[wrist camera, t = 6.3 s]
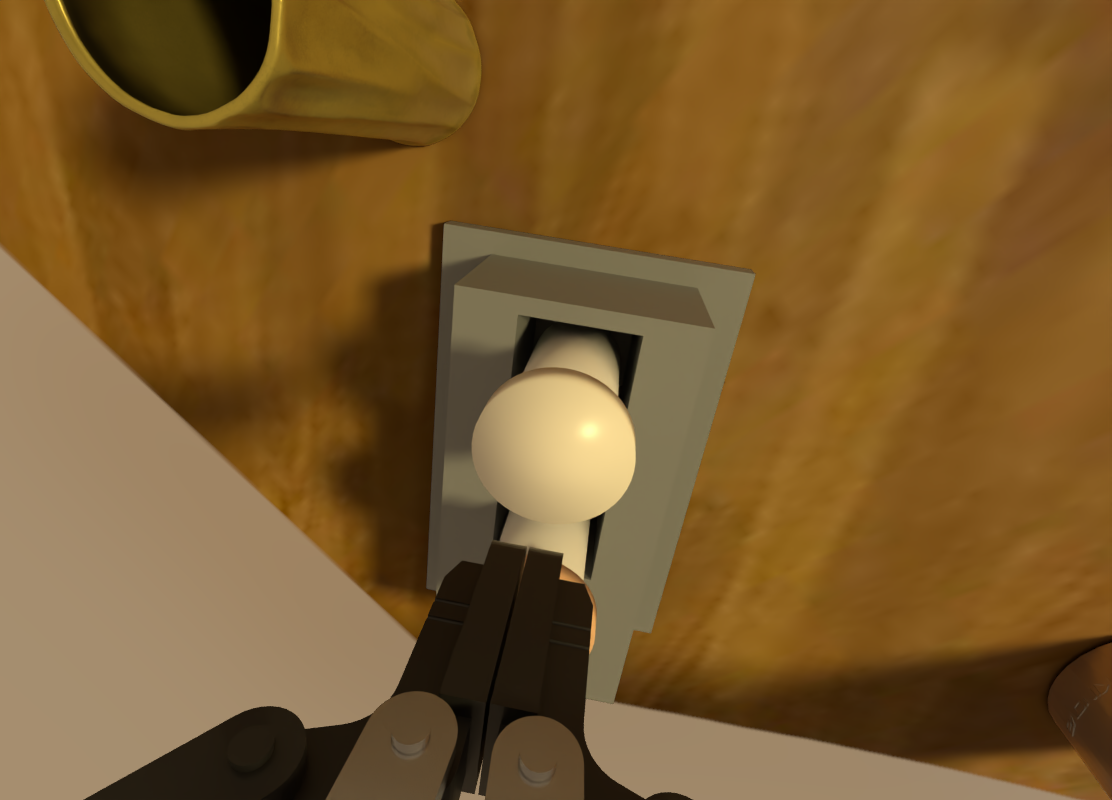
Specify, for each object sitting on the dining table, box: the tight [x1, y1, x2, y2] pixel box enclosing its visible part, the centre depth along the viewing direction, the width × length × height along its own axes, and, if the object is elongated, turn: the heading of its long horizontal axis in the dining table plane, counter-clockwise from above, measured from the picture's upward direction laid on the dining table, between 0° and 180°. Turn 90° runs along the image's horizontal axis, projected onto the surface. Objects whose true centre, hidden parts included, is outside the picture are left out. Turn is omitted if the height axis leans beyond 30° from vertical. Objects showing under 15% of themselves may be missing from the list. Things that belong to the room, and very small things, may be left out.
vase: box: [44, 0, 482, 146], centre depth 17 cm, size 6×6×14 cm
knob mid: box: [500, 511, 597, 654], centre depth 23 cm, size 5×5×8 cm
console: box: [426, 221, 755, 704], centre depth 27 cm, size 14×22×7 cm, turn 172°
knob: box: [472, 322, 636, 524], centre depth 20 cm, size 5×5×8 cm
